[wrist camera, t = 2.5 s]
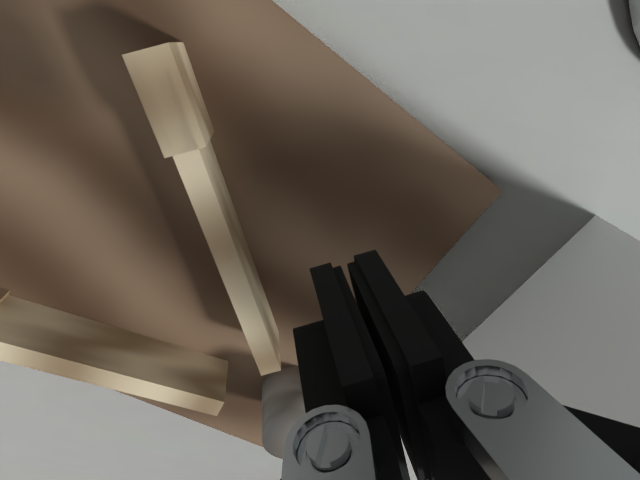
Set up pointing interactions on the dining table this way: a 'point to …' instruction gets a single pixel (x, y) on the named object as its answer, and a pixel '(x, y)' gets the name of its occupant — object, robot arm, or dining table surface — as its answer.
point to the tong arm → (204, 185)
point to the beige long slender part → (138, 365)
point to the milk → (576, 324)
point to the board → (236, 166)
